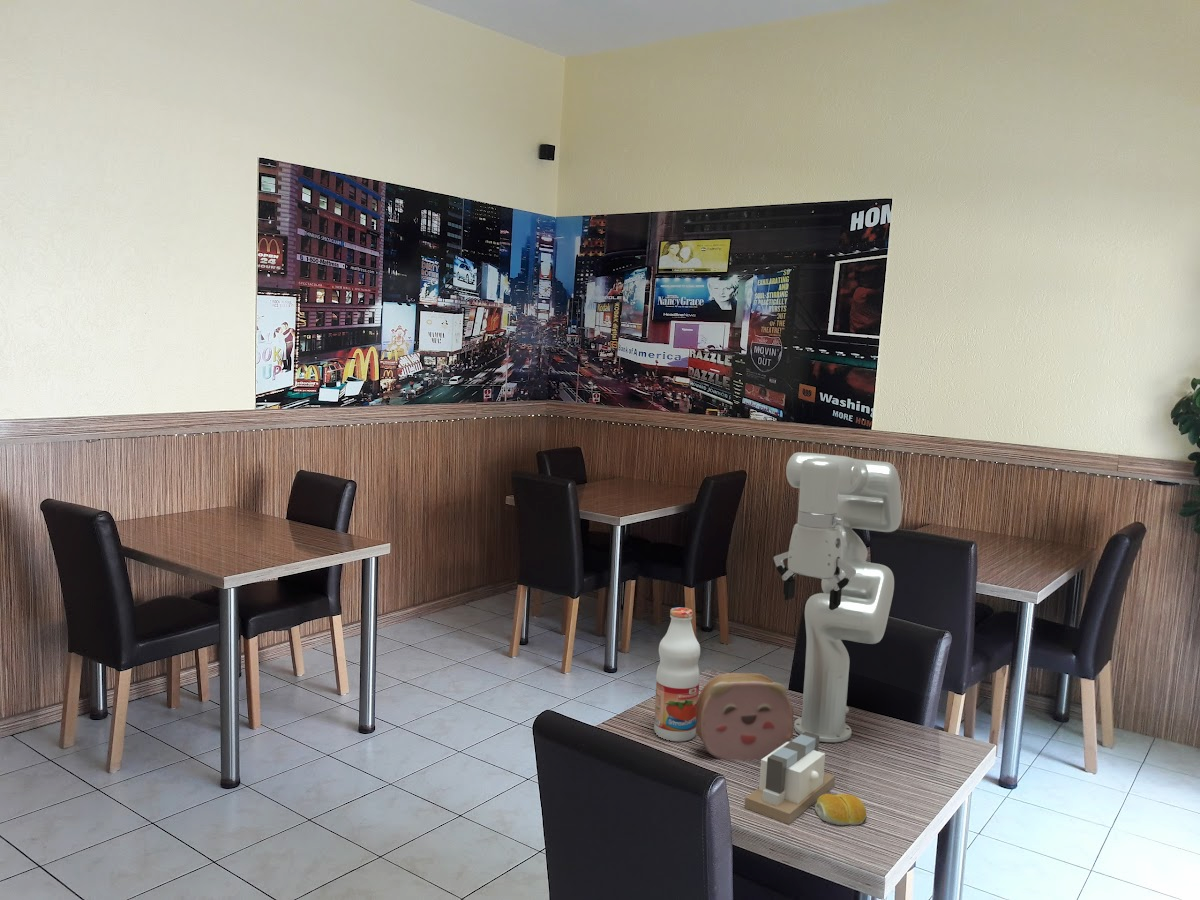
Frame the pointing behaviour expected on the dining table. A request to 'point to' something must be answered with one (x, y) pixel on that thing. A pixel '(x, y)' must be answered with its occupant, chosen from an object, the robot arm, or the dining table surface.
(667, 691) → the fruit juice
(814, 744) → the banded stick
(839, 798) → the bread roll
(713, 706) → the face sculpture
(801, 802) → the white block on board
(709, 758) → the dining table surface
